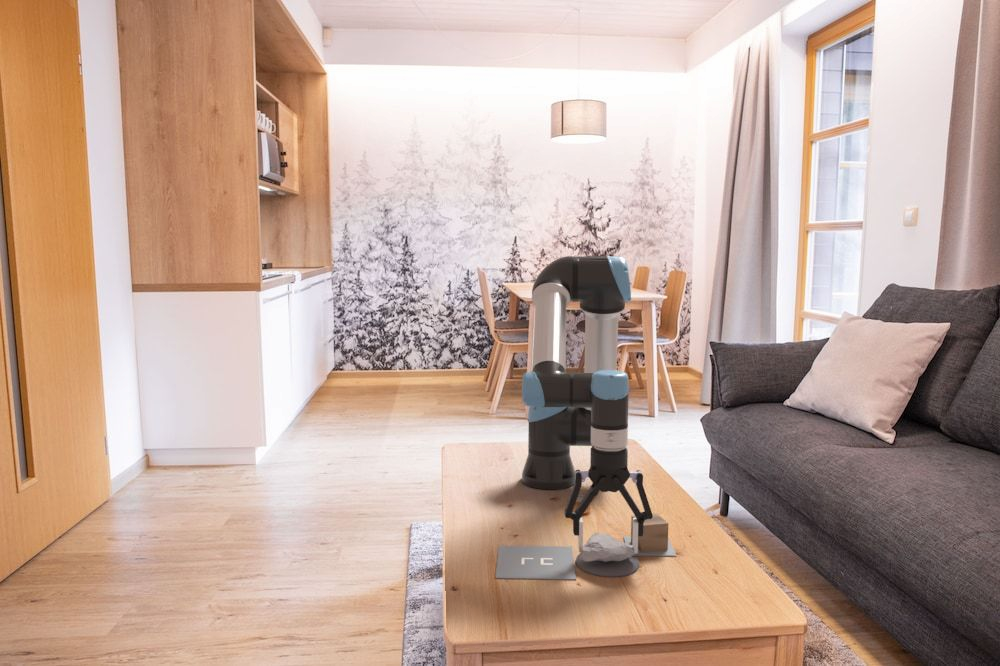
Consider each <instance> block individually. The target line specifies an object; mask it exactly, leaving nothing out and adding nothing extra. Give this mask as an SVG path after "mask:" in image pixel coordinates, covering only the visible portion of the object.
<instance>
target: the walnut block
mask: <svg viewBox="0 0 1000 666" xmlns="http://www.w3.org/2000/svg"><path fill="white" fill-rule="evenodd" d="M652 515H653V518H652V519H647V520H645V521H644V523H643V536H638V549H639V550H640V551H641V552H652V551H662V550H668V538H669V522H667V521H666V520H665V519H664V518H663V517H662V516H661V515H659V514H658V513H652ZM630 516H631V522H630V525H631V526H630V527H631V528H630V531H631V533H630V537H631V542H632V537H633V518H636V516H635V515H634V514H633V515H630Z"/></svg>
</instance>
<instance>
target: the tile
mask: <svg viewBox="0 0 1000 666" xmlns="http://www.w3.org/2000/svg"><path fill="white" fill-rule="evenodd" d="M623 540H624V541H623V542H624V543H627V544H629V545H632V542H631V536H623ZM634 556H636V557H677V554H676V551H675V550H674V547H673V545H672V542H671V541H670V539H669V537H668V550H662V551H652V552H641V551H640V550H639V549H638V553H636V554H635V555H634Z"/></svg>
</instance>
